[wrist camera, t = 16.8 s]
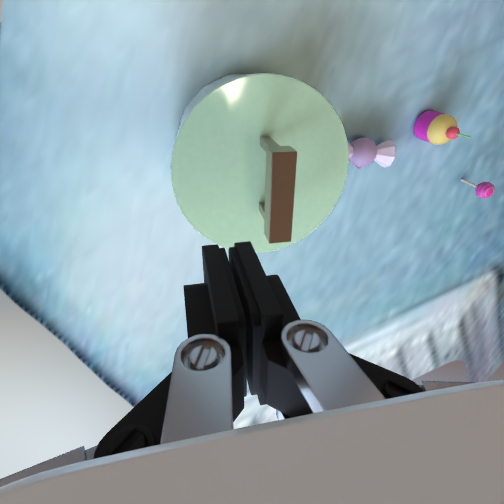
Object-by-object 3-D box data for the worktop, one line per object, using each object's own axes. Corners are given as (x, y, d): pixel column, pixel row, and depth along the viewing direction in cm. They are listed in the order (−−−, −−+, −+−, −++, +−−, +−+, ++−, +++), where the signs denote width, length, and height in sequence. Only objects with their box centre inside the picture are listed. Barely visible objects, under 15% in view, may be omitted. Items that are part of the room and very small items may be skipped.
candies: (323, 182, 38) (347, 204, 32) (339, 102, 34) (369, 112, 29) (465, 187, 41) (506, 206, 36) (494, 115, 38) (545, 125, 32)
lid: (180, 253, 30) (182, 300, 24) (159, 72, 23) (155, 80, 17) (332, 239, 32) (365, 279, 26) (354, 71, 25) (405, 78, 20)
